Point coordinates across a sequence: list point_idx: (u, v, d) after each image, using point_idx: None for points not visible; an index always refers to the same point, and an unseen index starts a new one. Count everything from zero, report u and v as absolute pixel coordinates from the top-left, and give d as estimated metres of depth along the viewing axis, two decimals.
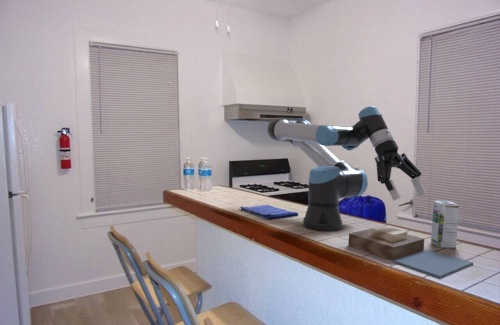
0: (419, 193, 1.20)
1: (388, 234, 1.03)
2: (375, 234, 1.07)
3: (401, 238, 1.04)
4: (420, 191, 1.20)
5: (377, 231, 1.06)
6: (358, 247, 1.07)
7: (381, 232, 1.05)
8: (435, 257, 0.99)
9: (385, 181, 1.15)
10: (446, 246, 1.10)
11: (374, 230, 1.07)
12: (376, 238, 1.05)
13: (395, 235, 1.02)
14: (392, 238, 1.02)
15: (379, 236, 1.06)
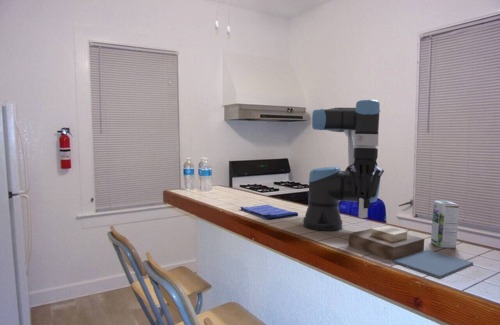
0: None
1: (388, 234, 1.03)
2: (375, 234, 1.07)
3: (401, 238, 1.04)
4: None
5: (377, 231, 1.06)
6: (358, 247, 1.07)
7: (381, 232, 1.05)
8: (435, 257, 0.99)
9: None
10: (446, 246, 1.10)
11: (374, 230, 1.07)
12: (376, 238, 1.05)
13: (395, 235, 1.02)
14: (392, 238, 1.02)
15: (379, 236, 1.06)
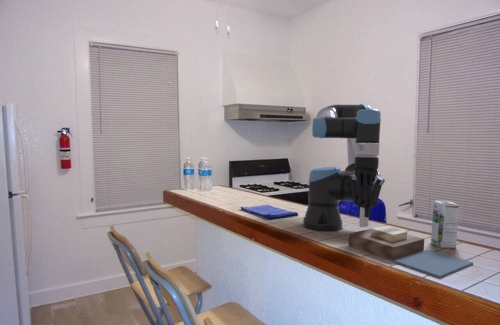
0: None
1: (388, 234, 1.03)
2: (375, 234, 1.07)
3: (401, 238, 1.04)
4: None
5: (377, 231, 1.06)
6: (358, 247, 1.07)
7: (381, 232, 1.05)
8: (435, 257, 0.99)
9: None
10: (446, 246, 1.10)
11: (374, 230, 1.07)
12: (376, 238, 1.05)
13: (395, 235, 1.02)
14: (392, 238, 1.02)
15: (379, 236, 1.06)
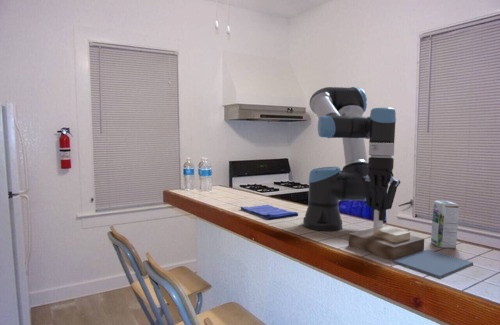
0: None
1: (391, 235, 1.02)
2: (377, 235, 1.06)
3: (404, 238, 1.03)
4: None
5: (379, 232, 1.05)
6: (358, 247, 1.07)
7: (383, 233, 1.04)
8: (435, 257, 0.99)
9: None
10: (446, 246, 1.10)
11: (376, 231, 1.06)
12: (376, 238, 1.05)
13: (398, 236, 1.01)
14: (394, 239, 1.01)
15: (381, 237, 1.05)
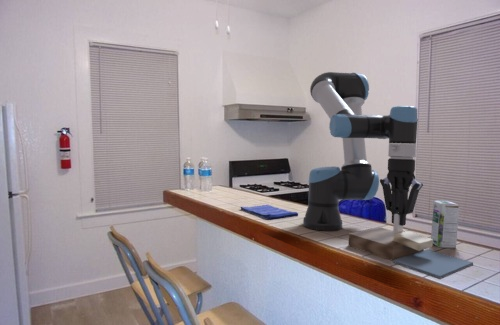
0: None
1: (413, 242, 0.96)
2: (398, 240, 1.00)
3: (426, 246, 0.97)
4: None
5: (401, 237, 1.00)
6: (358, 247, 1.07)
7: (405, 239, 0.98)
8: (435, 257, 0.99)
9: None
10: (446, 246, 1.10)
11: (397, 236, 1.00)
12: (376, 238, 1.05)
13: (421, 244, 0.95)
14: (417, 247, 0.95)
15: (402, 243, 0.99)
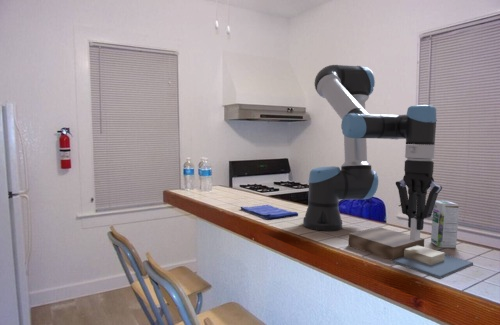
0: None
1: (424, 256, 0.94)
2: (409, 255, 0.98)
3: (438, 260, 0.95)
4: None
5: (411, 252, 0.97)
6: (358, 247, 1.07)
7: (416, 253, 0.96)
8: None
9: None
10: (446, 246, 1.10)
11: (408, 251, 0.98)
12: (376, 238, 1.05)
13: (432, 257, 0.93)
14: (429, 261, 0.93)
15: (414, 258, 0.96)
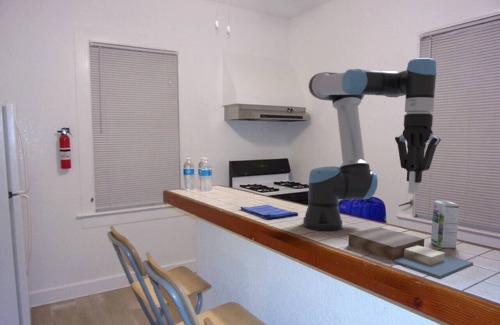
0: None
1: (424, 256, 0.94)
2: (409, 255, 0.98)
3: (438, 260, 0.95)
4: None
5: (411, 252, 0.97)
6: (358, 247, 1.07)
7: (416, 253, 0.96)
8: None
9: None
10: (446, 246, 1.10)
11: (408, 251, 0.98)
12: (376, 238, 1.05)
13: (432, 257, 0.93)
14: (429, 261, 0.93)
15: (414, 258, 0.96)
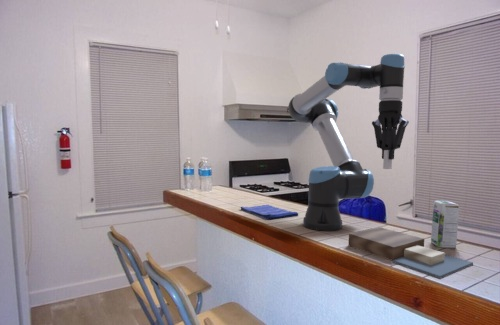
0: None
1: (424, 256, 0.94)
2: (409, 255, 0.98)
3: (438, 260, 0.95)
4: None
5: (411, 252, 0.97)
6: (358, 247, 1.07)
7: (416, 253, 0.96)
8: None
9: None
10: (446, 246, 1.10)
11: (408, 251, 0.98)
12: (376, 238, 1.05)
13: (432, 257, 0.93)
14: (429, 261, 0.93)
15: (414, 258, 0.96)
